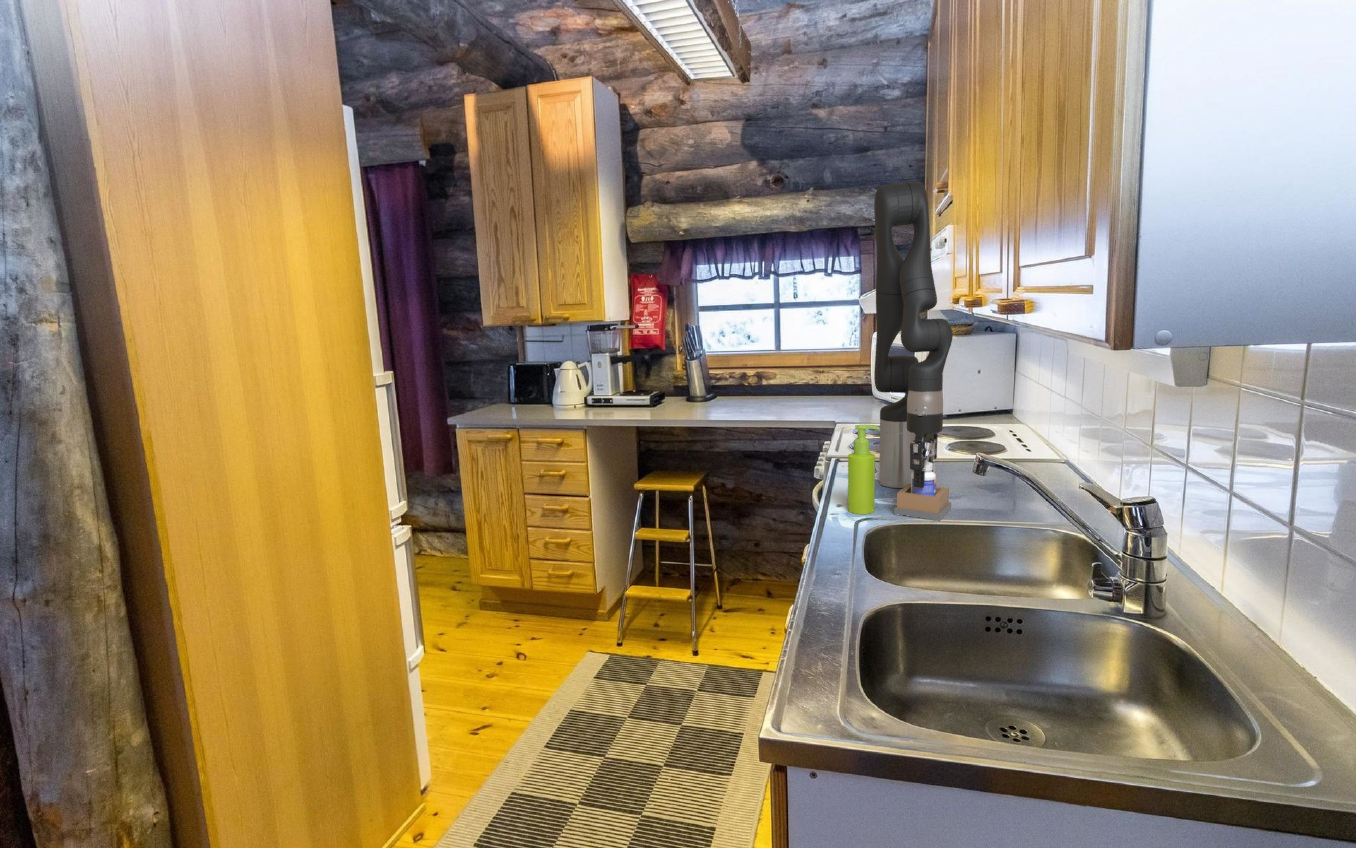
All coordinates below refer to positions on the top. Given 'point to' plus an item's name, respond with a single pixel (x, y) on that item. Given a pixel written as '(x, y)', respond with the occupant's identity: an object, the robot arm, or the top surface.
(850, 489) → the soap dispenser
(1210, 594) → the top surface
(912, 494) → the box
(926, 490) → the pill bottle
